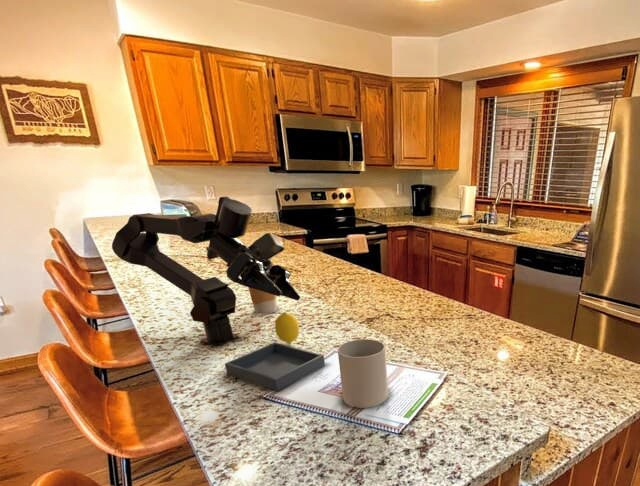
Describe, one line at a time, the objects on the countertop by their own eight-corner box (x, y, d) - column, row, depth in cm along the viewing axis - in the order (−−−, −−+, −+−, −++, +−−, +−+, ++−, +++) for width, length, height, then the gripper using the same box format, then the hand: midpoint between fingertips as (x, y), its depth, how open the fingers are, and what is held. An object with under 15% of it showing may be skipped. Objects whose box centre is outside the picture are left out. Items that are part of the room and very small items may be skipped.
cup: (367, 412, 75) (363, 361, 71) (333, 400, 79) (327, 351, 75) (396, 392, 82) (394, 344, 78) (363, 382, 86) (359, 336, 82)
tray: (227, 374, 90) (224, 363, 89) (276, 352, 100) (274, 342, 99) (277, 391, 83) (275, 379, 82) (325, 365, 93) (323, 355, 92)
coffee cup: (286, 309, 130) (278, 259, 123) (263, 316, 123) (253, 265, 117) (269, 305, 134) (260, 256, 128) (245, 312, 127) (235, 262, 121)
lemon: (294, 348, 102) (289, 316, 99) (273, 346, 103) (267, 315, 100) (305, 339, 107) (301, 309, 104) (285, 338, 108) (280, 308, 105)
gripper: (232, 211, 84) (292, 258, 83) (277, 235, 103) (327, 273, 102) (201, 257, 85) (260, 304, 84) (250, 272, 104) (300, 311, 103)
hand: (290, 296), depth 93 cm, fingers open, 9 cm apart
